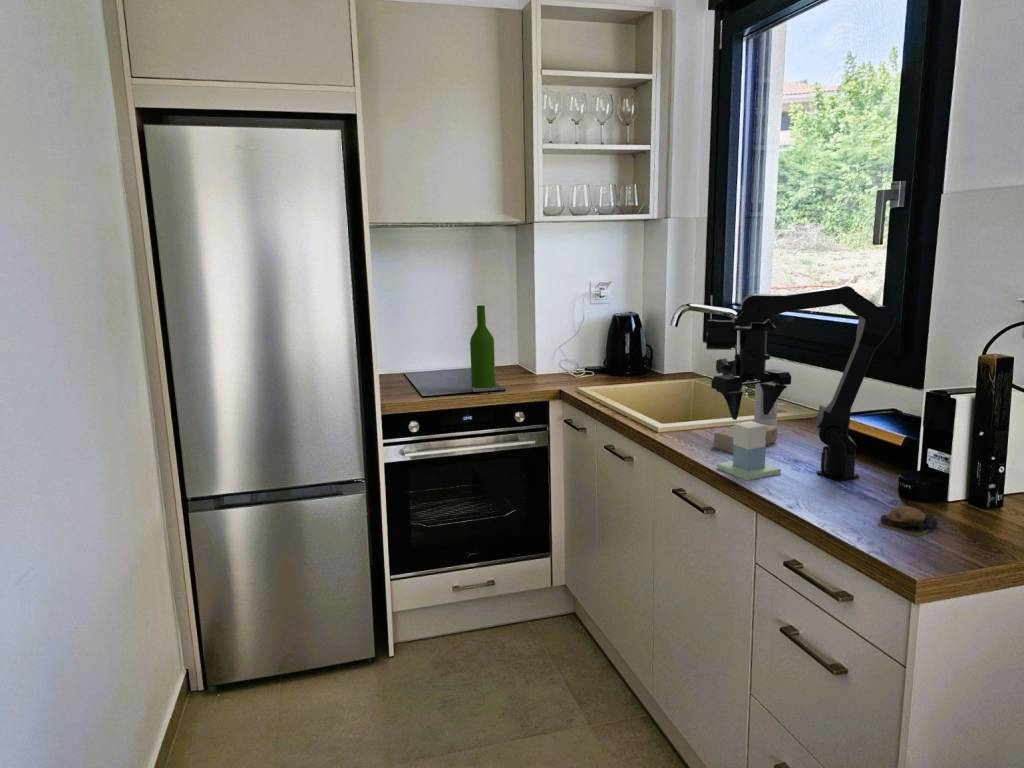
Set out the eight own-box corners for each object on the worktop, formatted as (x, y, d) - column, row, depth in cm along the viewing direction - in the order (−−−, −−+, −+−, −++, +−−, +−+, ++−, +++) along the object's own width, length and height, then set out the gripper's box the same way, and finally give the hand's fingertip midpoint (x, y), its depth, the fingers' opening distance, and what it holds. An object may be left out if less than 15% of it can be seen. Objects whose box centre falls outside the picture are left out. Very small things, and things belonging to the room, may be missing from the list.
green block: (780, 473, 162) (780, 468, 162) (746, 480, 158) (746, 475, 158) (750, 462, 171) (750, 457, 171) (717, 468, 167) (717, 463, 167)
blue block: (764, 467, 163) (765, 446, 162) (747, 470, 161) (748, 449, 160) (749, 461, 168) (750, 441, 167) (732, 464, 166) (733, 444, 165)
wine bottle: (500, 392, 264) (497, 305, 258) (480, 395, 259) (476, 307, 253) (487, 389, 271) (484, 304, 265) (467, 392, 266) (464, 305, 260)
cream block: (765, 446, 162) (766, 425, 161) (748, 449, 160) (748, 428, 159) (750, 441, 167) (750, 421, 166) (733, 444, 165) (733, 423, 164)
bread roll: (920, 541, 126) (921, 521, 125) (872, 527, 132) (873, 508, 131) (944, 525, 132) (946, 506, 131) (897, 512, 139) (899, 495, 138)
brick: (737, 455, 179) (738, 437, 178) (711, 448, 185) (712, 430, 184) (778, 444, 188) (778, 427, 187) (751, 437, 194) (752, 421, 194)
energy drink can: (772, 426, 204) (774, 375, 201) (779, 432, 198) (781, 379, 195) (751, 427, 204) (752, 376, 201) (757, 432, 198) (759, 380, 195)
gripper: (759, 343, 170) (757, 405, 173) (696, 349, 163) (695, 414, 166) (794, 348, 160) (791, 415, 163) (729, 355, 153) (726, 424, 156)
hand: (750, 417), depth 162 cm, fingers open, 9 cm apart
